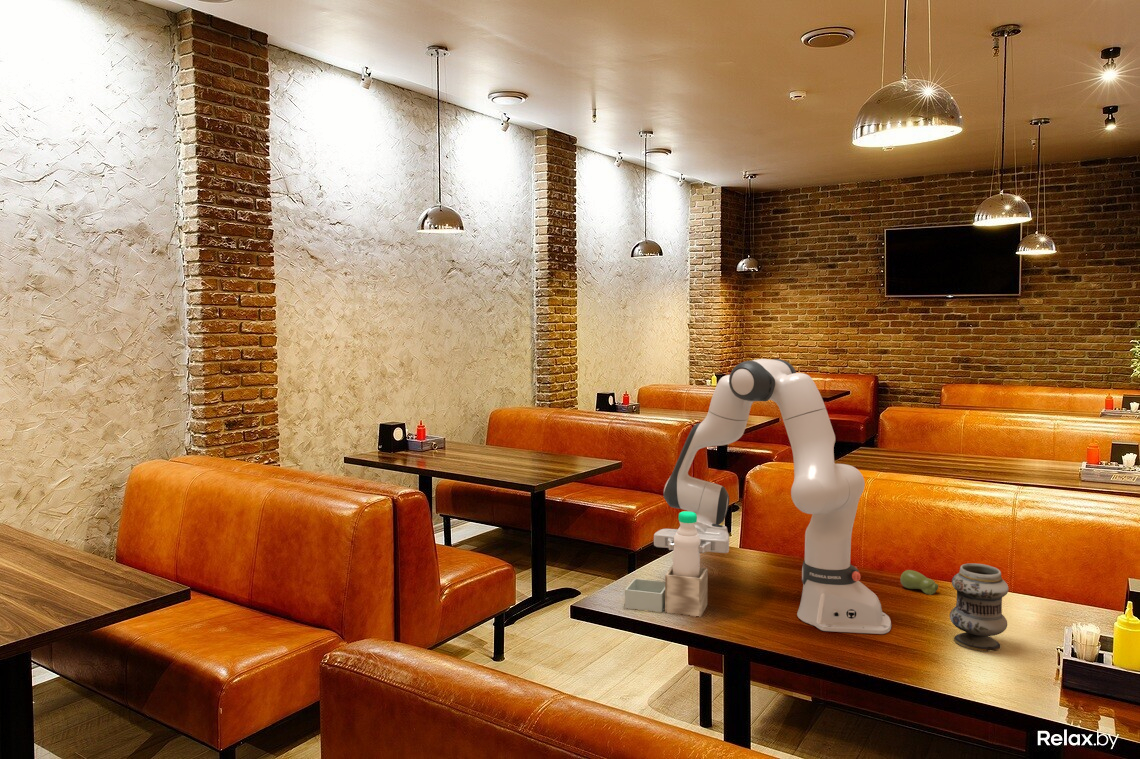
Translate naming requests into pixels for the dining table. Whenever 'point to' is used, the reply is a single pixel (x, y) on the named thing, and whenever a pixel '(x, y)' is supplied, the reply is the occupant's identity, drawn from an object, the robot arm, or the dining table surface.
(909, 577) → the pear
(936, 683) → the dining table surface
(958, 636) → the apothecary jar
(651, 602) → the bottle caddy
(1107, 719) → the dining table surface
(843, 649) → the dining table surface
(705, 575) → the birch sleeve
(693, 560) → the water bottle
